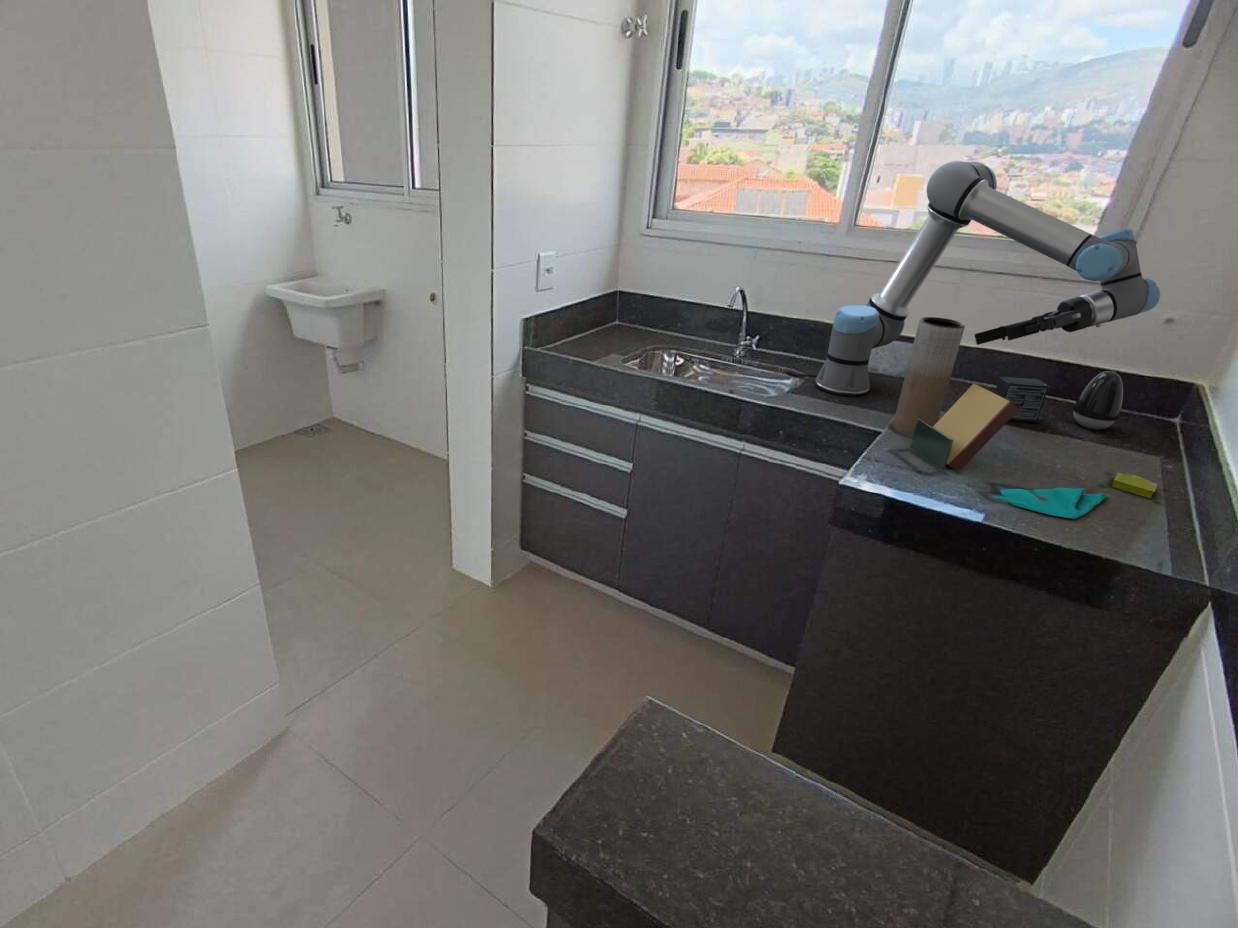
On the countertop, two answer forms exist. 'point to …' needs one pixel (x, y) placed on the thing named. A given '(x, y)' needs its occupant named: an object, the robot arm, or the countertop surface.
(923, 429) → the bookend
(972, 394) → the book
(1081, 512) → the cloth
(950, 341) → the vase
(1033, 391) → the small box
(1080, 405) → the black rounded dome
